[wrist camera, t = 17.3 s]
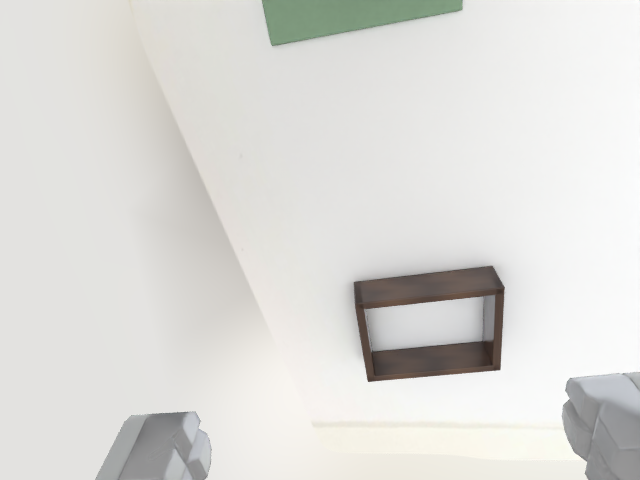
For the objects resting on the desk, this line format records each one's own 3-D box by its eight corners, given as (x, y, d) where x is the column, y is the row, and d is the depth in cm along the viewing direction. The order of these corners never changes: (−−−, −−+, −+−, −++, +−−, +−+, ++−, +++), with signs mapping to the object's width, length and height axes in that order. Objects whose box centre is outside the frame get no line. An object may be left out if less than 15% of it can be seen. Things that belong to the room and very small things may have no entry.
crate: (366, 357, 48) (367, 382, 45) (353, 282, 43) (354, 303, 40) (490, 346, 47) (500, 370, 44) (492, 265, 41) (504, 287, 38)
